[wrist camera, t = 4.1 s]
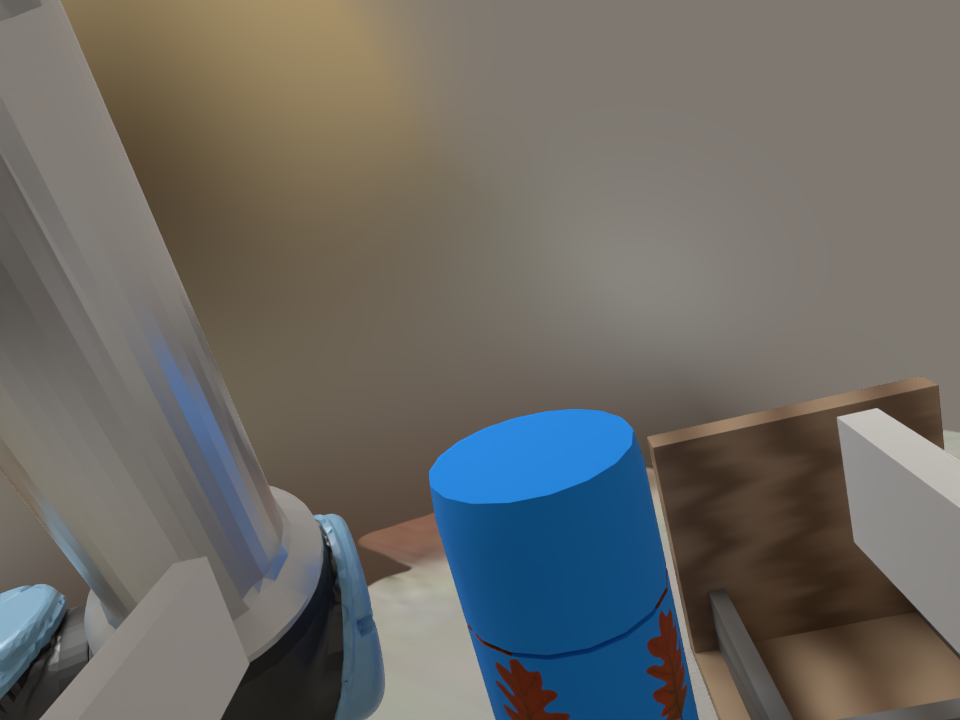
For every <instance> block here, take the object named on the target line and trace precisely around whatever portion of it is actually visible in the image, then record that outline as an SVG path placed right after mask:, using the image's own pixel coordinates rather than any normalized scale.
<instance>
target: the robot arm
mask: <svg viewBox="0 0 960 720" xmlns="http://www.w3.org/2000/svg"><path fill="white" fill-rule="evenodd" d="M837 423H838V430H839V438H840V445H841V452H842V459H843V466H844V473H845V481H846V488H847V495H848V502H849V509H850V516H851V523H852V531H853V538H854V542H855V543H856V544H857V545H858V547H859V548H860V549H861V550H862V551H863V552H864V553H865V554H866V555H867V556H868V557H869V558H870V559H871V560H872V561H873V563H874V564H875V565H876V566H877V567H878V568H879V569H880V570H881V571H882V572H883V573H884V574H885V575H886V576H887V577H888V578H889V580H890V581H891V582H892V583H893V584H894V585H895V586H896V587H897V588H898V589H899V590H900V591H901V592H902V593H903V594H904V595H905V597H906V598H907V599H908V600H909V601H910V602H911V603H912V604H913V605H914V606H915V607H916V608H917V609H918V610H919V611H920V612H921V614H922V615H923V616H924V617H925V618H926V619H927V620H928V621H929V622H930V623H931V624H932V625H933V626H934V627H935V628H936V629H937V631H938V632H939V633H940V634H941V635H942V636H943V637H944V638H945V639H946V640H947V641H948V642H949V643H950V644H951V645H952V646H953V648H954V649H955V650H956V651H957V652H958V653H959V654H960V460H958V459H957V458H955V457H954V456H952V455H950V454H949V453H947V452H946V451H944V450H943V449H941V448H939V447H938V446H936V445H935V444H933V443H932V442H930V441H928V440H927V439H925V438H924V437H922V436H921V435H919V434H917V433H916V432H914V431H913V430H911V429H909V428H908V427H906V426H905V425H903V424H902V423H900V422H898V421H897V420H895V419H894V418H892V417H891V416H889V415H887V414H886V413H884V412H883V411H881V410H880V409H878V408H875V409H871V410H866V411H862V412H857V413H853V414H848V415H843V416H839V417H837ZM0 470H1V471H2V473H3V474H4V476H5V477H6V478H7V480H8V481H9V482H10V483H11V485H12V486H13V487H14V489H15V490H16V491H17V493H18V494H19V495H20V496H21V498H22V499H23V500H24V501H25V503H26V504H27V505H28V507H29V508H30V509H31V510H32V512H33V513H34V515H35V516H36V517H37V519H38V520H39V521H40V522H41V523H42V525H43V526H44V528H45V529H46V530H47V532H48V533H49V534H50V535H51V537H52V538H53V539H54V541H55V542H56V543H57V545H58V546H59V547H60V548H61V550H62V551H63V552H64V554H65V555H66V556H67V558H68V559H69V560H70V561H71V563H72V564H73V565H74V566H75V568H76V569H77V571H78V572H79V573H80V574H81V576H82V577H83V578H84V580H85V581H86V582H87V583H88V585H89V586H90V588H91V590H90V593H89V596H88V600H87V604H84V605H82V606H79V607H76V608H72V609H67V607H68V606H67V600H66V597H65V596H64V595H63V594H60V593H59V592H58V591H57V590H55V589H54V588H53V587H51V586H49V585H46V584H37V585H35V586H22V587H19V588H16V589H12V590H9V591H7V592H4V593H2V594H0V720H365V719H367V718H368V717H370V716H371V715H372V714H373V713H374V712H375V711H376V709H377V708H378V707H379V705H380V703H381V701H382V698H383V695H384V689H385V674H384V665H383V658H382V652H381V646H380V641H379V637H378V632H377V628H376V625H375V622H374V620H373V619H372V617H373V612H372V608H371V602H370V596H369V592H368V588H367V585H366V581H365V577H364V573H363V570H362V567H361V563H360V560H359V556H358V553H357V550H356V547H355V544H354V542H353V539H352V536H351V533H350V531H349V529H348V527H347V524H346V522H345V521H344V520H343V519H342V518H341V517H340V516H338V515H335V514H328V515H324V516H323V515H320V514H319V515H314V516H313V515H312V514H311V512H310V511H309V509H308V508H307V506H306V505H305V504H304V503H303V502H301V501H300V500H299V499H298V498H297V497H295V496H293V495H292V494H290V493H288V492H286V491H283V490H281V489H278V488H276V487H272V486H268V484H267V481H266V479H265V476H264V474H263V472H262V469H261V467H260V465H259V462H258V460H257V458H256V456H255V453H254V451H253V448H252V446H251V444H250V442H249V439H248V437H247V435H246V432H245V430H244V428H243V425H242V423H241V420H240V418H239V416H238V414H237V411H236V409H235V406H234V404H233V402H232V400H231V397H230V395H229V393H228V390H227V388H226V386H225V383H224V381H223V379H222V376H221V374H220V372H219V370H218V367H217V365H216V362H215V360H214V358H213V355H212V353H211V351H210V348H209V346H208V344H207V341H206V339H205V337H204V334H203V332H202V330H201V327H200V325H199V323H198V320H197V318H196V316H195V313H194V311H193V309H192V306H191V304H190V302H189V299H188V297H187V295H186V292H185V290H184V288H183V285H182V283H181V281H180V278H179V276H178V274H177V271H176V269H175V267H174V265H173V262H172V260H171V257H170V255H169V253H168V250H167V249H166V246H165V243H164V241H163V239H162V236H161V234H160V232H159V229H158V227H157V225H156V222H155V220H154V218H153V215H152V213H151V211H150V208H149V206H148V204H147V201H146V199H145V197H144V194H143V192H142V190H141V187H140V185H139V183H138V180H137V178H136V176H135V173H134V171H133V169H132V166H131V164H130V162H129V159H128V157H127V155H126V152H125V150H124V148H123V145H122V143H121V141H120V138H119V136H118V134H117V131H116V129H115V127H114V124H113V122H112V120H111V117H110V115H109V113H108V110H107V108H106V106H105V103H104V101H103V99H102V96H101V94H100V92H99V90H98V87H97V85H96V83H95V80H94V78H93V75H92V73H91V71H90V68H89V66H88V64H87V61H86V59H85V57H84V54H83V52H82V50H81V48H80V45H79V43H78V40H77V38H76V36H75V33H74V31H73V29H72V26H71V24H70V22H69V19H68V17H67V15H66V12H65V10H64V8H63V5H62V3H61V0H0Z"/></svg>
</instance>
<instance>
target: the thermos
mask: <svg viewBox="0 0 960 720" xmlns="http://www.w3.org/2000/svg"><path fill="white" fill-rule="evenodd" d="M429 476H430V488H431V494H432V500H433V507H434V513H435V519H436V523H437V526H438V529H439V533H440V536H441V539H442V543H443V546H444V549H445V553H446V556H447V559H448V563H449V566H450V569H451V573H452V576H453V579H454V583H455V586H456V589H457V593H458V596H459V599H460V603H461V606H462V609H463V613H464V616H465V619H466V622H467V625H468V629H469V633H470V636H471V639H472V642H473V646H474V649H475V652H476V656H477V659H478V662H479V666H480V669H481V672H482V676H483V679H484V682H485V686H486V689H487V692H488V696H489V699H490V702H491V706H492V709H493V712H494V716H495V719H496V720H699V719H698V714H697V709H696V704H695V700H694V695H693V690H692V685H691V681H690V676H689V671H688V666H687V662H686V657H685V652H684V647H683V643H682V638H681V633H680V628H679V624H678V619H677V614H676V609H675V605H674V600H673V595H672V590H671V586H670V581H669V576H668V571H667V568H666V562H665V557H664V552H663V547H662V543H661V538H660V533H659V528H658V524H657V519H656V514H655V509H654V505H653V500H652V495H651V490H650V486H649V481H648V476H647V471H646V467H645V462H644V458H643V456H642V453H641V450H640V447H639V444H638V442H637V439H636V436H635V433H634V430H633V429H632V428H631V427H630V426H629V425H628V423H626V421H625V420H624V419H623V418H621V417H618V416H615V415H612V414H609V413H606V412H603V411H595V410H581V409H569V410H558V411H547V412H541V413H536V414H532V415H527V416H523V417H518V418H514V419H510V420H508V421H505V422H502V423H499V424H496V425H493V426H490V427H487V428H485V429H482V430H480V431H478V432H476V433H474V434H472V435H470V436H469V437H467V438H465V439H463V440H461V441H459V442H457V443H456V444H455V445H453V446H452V447H451V448H450V449H448V450H447V451H446V452H444V453H443V454H442V455H441V456H439V458H438V459H437V461H436V462H435V464H434V465H433V467H432V468H431V470H430V471H429Z"/></svg>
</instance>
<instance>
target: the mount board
mask: <svg viewBox="0 0 960 720" xmlns="http://www.w3.org/2000/svg"><path fill="white" fill-rule="evenodd" d="M939 398H940V397H939V386H938V385H937V384H935V383H933V382H931V381H929V380H927V379H925V378H924V377H921V376H920V377H915V378H911V379H906V380H902V381H898V382H893V383H889V384H884V385H879V386H875V387H870V388H866V389H861V390H857V391H852V392H848V393H843V394H839V395H834V396H830V397H825V398H821V399H816V400H812V401H807V402H802V403H798V404H794V405H789V406H785V407H780V408H775V409H771V410H766V411H762V412H757V413H753V414H748V415H744V416H739V417H735V418H730V419H726V420H721V421H717V422H712V423H708V424H704V425H699V426H695V427H690V428H685V429H681V430H676V431H672V432H667V433H663V434H658V435H654V436H649V437H647V439H648V443H649V448H650V453H651V458H652V463H653V468H654V473H655V477H656V482H657V487H658V492H659V497H660V502H661V506H662V511H663V516H664V521H665V526H666V531H667V535H668V540H669V545H670V550H671V555H672V560H673V564H674V569H675V574H676V579H677V584H678V588H679V593H680V598H681V603H682V608H683V613H684V617H685V622H686V627H687V632H688V637H689V642H690V646H691V649H692V652H693V654H694V657H695V660H696V662H697V665H698V667H699V670H700V672H701V675H702V678H703V680H704V683H705V685H706V688H707V690H708V693H709V696H710V698H711V701H712V703H713V706H714V708H715V711H716V714H717V716H718V719H719V720H960V654H959V653H958V652H957V651H956V650H955V649H954V648H953V646H952V645H951V644H950V643H949V642H948V641H947V640H946V639H945V638H944V637H943V636H942V635H941V634H940V633H939V632H938V631H937V629H936V628H935V627H934V626H933V625H932V624H931V623H930V622H929V621H928V620H927V619H926V618H925V617H924V616H923V615H922V614H921V612H920V611H919V610H918V609H917V608H916V607H915V606H914V605H913V604H912V603H911V602H910V601H909V600H908V599H907V598H906V597H905V595H904V594H903V593H902V592H901V591H900V590H899V589H898V588H897V587H896V586H895V585H894V584H893V583H892V582H891V581H890V580H889V578H888V577H887V576H886V575H885V574H884V573H883V572H882V571H881V570H880V569H879V568H878V567H877V566H876V565H875V564H874V563H873V561H872V560H871V559H870V558H869V557H868V556H867V555H866V554H865V553H864V552H863V551H862V550H861V549H860V548H859V547H858V545H857V544H856V543H855V542H854V538H853V531H852V523H851V516H850V509H849V502H848V495H847V488H846V481H845V473H844V466H843V459H842V452H841V445H840V438H839V430H838V423H837V417H839V416H843V415H848V414H853V413H857V412H862V411H866V410H871V409H875V408H878V409H880V410H881V411H883V412H884V413H886V414H887V415H889V416H891V417H892V418H894V419H895V420H897V421H898V422H900V423H902V424H903V425H905V426H906V427H908V428H909V429H911V430H913V431H914V432H916V433H917V434H919V435H921V436H922V437H924V438H925V439H927V440H928V441H930V442H932V443H933V444H935V445H936V446H938V447H939V448H941V449H943V450H944V441H943V430H942V420H941V408H940V399H939Z"/></svg>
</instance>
